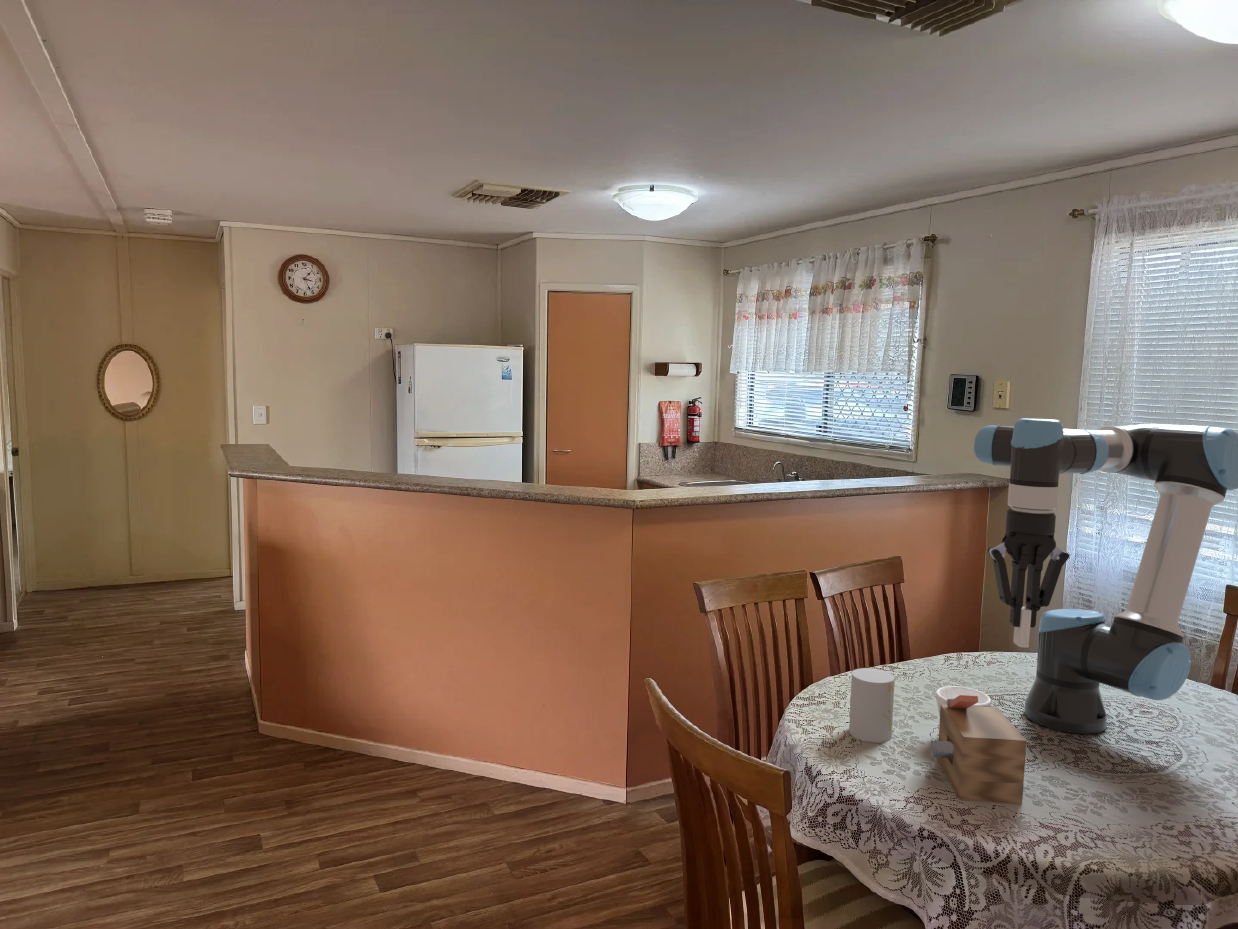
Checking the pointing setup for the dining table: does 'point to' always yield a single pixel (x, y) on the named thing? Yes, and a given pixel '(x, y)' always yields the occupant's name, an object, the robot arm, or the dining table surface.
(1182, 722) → the dining table surface
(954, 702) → the keeper tab
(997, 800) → the block
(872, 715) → the cup
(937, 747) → the hitch pin
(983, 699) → the cup
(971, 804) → the dining table surface
